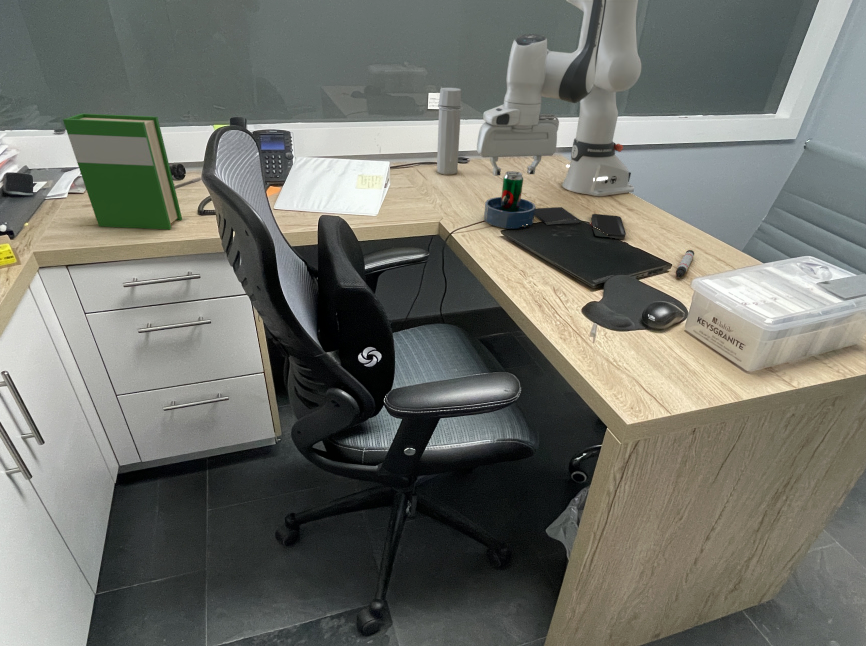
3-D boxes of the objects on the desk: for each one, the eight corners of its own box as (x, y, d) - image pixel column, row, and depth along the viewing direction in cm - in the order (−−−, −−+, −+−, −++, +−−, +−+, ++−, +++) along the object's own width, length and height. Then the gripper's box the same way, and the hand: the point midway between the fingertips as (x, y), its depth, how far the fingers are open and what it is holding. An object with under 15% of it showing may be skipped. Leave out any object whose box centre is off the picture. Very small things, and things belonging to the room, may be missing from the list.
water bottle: (433, 170, 184) (435, 87, 170) (455, 169, 186) (459, 87, 171) (439, 177, 177) (443, 91, 163) (462, 176, 179) (468, 91, 164)
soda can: (519, 223, 143) (525, 176, 136) (499, 222, 143) (504, 175, 136) (516, 216, 147) (522, 171, 140) (498, 216, 147) (503, 170, 140)
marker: (684, 256, 128) (686, 248, 127) (693, 258, 128) (695, 250, 126) (672, 280, 118) (674, 271, 116) (681, 282, 117) (684, 273, 116)
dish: (521, 211, 152) (523, 195, 149) (541, 228, 141) (543, 211, 139) (477, 214, 149) (478, 198, 146) (493, 231, 138) (495, 214, 136)
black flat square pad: (561, 209, 155) (561, 206, 154) (580, 223, 145) (581, 221, 145) (528, 210, 153) (529, 208, 152) (546, 225, 143) (547, 223, 143)
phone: (620, 216, 147) (626, 235, 135) (619, 220, 148) (625, 239, 136) (591, 213, 148) (594, 232, 136) (590, 217, 149) (593, 236, 137)
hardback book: (182, 219, 139) (157, 116, 124) (170, 229, 133) (142, 122, 118) (114, 216, 139) (81, 113, 125) (98, 226, 133) (62, 119, 119)
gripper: (554, 112, 135) (545, 169, 143) (477, 112, 130) (472, 172, 138) (566, 116, 130) (556, 176, 138) (486, 117, 125) (480, 179, 133)
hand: (513, 174), depth 138 cm, fingers open, 8 cm apart
